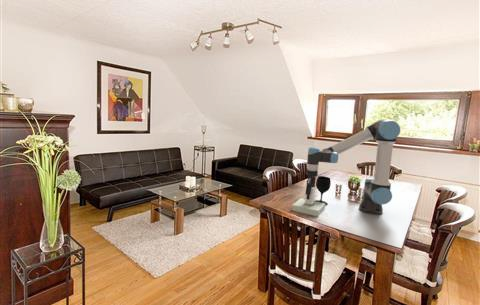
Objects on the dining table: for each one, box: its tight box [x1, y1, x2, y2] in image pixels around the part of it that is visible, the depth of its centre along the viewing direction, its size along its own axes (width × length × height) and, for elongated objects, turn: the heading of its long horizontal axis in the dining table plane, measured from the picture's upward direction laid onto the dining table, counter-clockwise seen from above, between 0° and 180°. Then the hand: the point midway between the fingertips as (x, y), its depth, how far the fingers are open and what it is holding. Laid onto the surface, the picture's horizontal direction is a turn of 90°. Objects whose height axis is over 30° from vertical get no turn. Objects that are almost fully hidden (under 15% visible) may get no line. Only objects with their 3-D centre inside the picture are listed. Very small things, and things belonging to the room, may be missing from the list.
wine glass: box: [314, 175, 332, 207], centre depth 195 cm, size 10×10×20 cm
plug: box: [304, 186, 316, 206], centre depth 181 cm, size 5×5×16 cm
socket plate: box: [291, 197, 326, 217], centre depth 182 cm, size 18×18×4 cm
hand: (309, 202), depth 181 cm, fingers open, 6 cm apart
